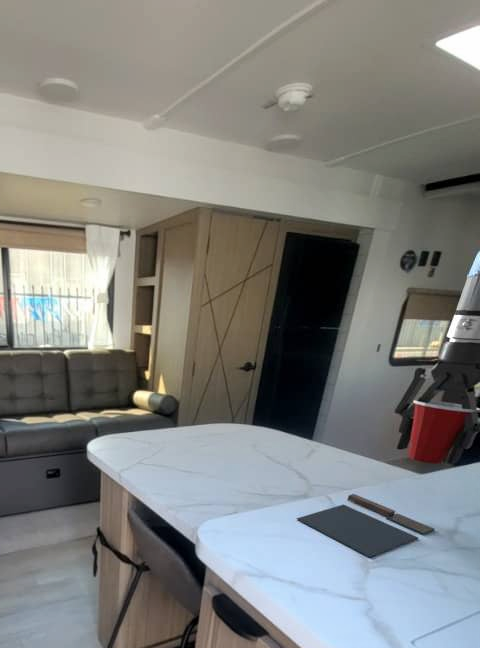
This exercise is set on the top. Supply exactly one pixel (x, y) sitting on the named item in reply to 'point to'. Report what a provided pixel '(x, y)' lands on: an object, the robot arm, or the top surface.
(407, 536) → the cloth mat
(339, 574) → the top surface
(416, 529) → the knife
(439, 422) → the plastic cup
